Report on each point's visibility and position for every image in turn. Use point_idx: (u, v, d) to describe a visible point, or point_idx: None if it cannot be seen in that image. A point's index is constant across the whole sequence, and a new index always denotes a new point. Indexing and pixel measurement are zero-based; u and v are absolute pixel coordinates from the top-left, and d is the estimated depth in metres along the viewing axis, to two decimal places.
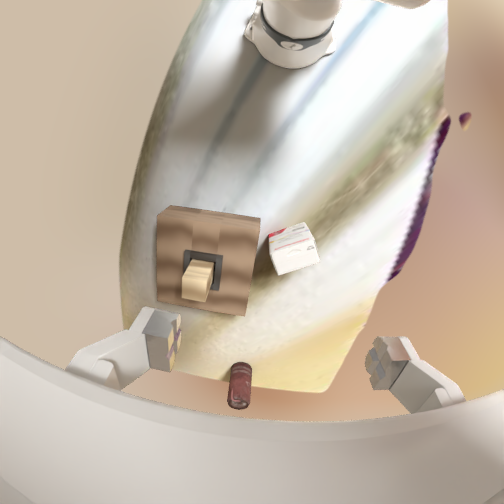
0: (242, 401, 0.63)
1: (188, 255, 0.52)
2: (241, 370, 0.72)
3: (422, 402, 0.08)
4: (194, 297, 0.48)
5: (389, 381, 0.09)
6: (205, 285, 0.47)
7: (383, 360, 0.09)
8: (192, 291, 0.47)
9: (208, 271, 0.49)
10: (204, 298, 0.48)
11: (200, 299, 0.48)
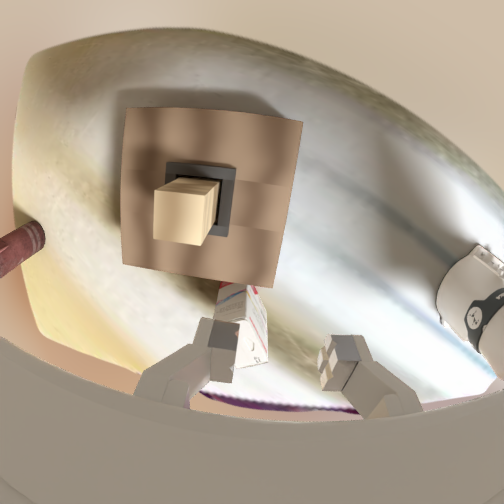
0: None
1: (227, 176, 0.28)
2: (34, 242, 0.38)
3: (375, 408, 0.07)
4: (160, 218, 0.22)
5: (339, 382, 0.09)
6: (191, 242, 0.23)
7: (331, 359, 0.09)
8: (173, 214, 0.22)
9: (208, 228, 0.26)
10: (161, 238, 0.23)
11: (157, 230, 0.23)
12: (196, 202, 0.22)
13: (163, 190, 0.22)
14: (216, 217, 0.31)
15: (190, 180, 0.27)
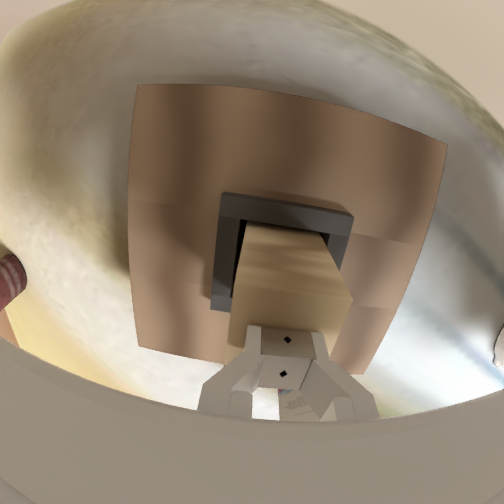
0: None
1: (339, 230, 0.15)
2: (12, 286, 0.25)
3: None
4: (244, 338, 0.10)
5: (295, 381, 0.09)
6: None
7: None
8: None
9: None
10: None
11: (235, 355, 0.11)
12: (332, 311, 0.10)
13: (254, 283, 0.10)
14: None
15: (273, 231, 0.15)
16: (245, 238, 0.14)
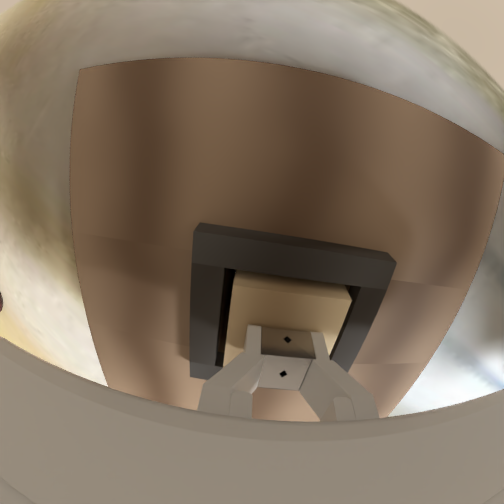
0: None
1: (374, 281, 0.10)
2: None
3: None
4: (243, 339, 0.10)
5: (295, 381, 0.09)
6: None
7: None
8: None
9: None
10: None
11: (234, 356, 0.11)
12: (330, 312, 0.10)
13: (253, 284, 0.10)
14: None
15: None
16: None
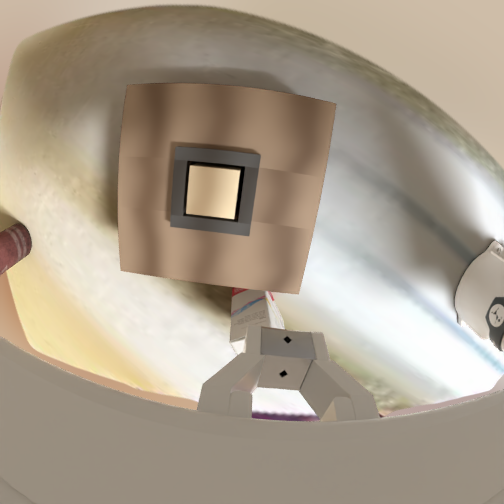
0: None
1: (251, 163, 0.23)
2: (19, 247, 0.31)
3: None
4: (194, 193, 0.23)
5: (295, 381, 0.09)
6: (224, 216, 0.24)
7: None
8: (208, 188, 0.23)
9: (236, 206, 0.27)
10: (194, 212, 0.24)
11: (191, 204, 0.24)
12: (231, 177, 0.23)
13: (198, 166, 0.23)
14: None
15: None
16: None
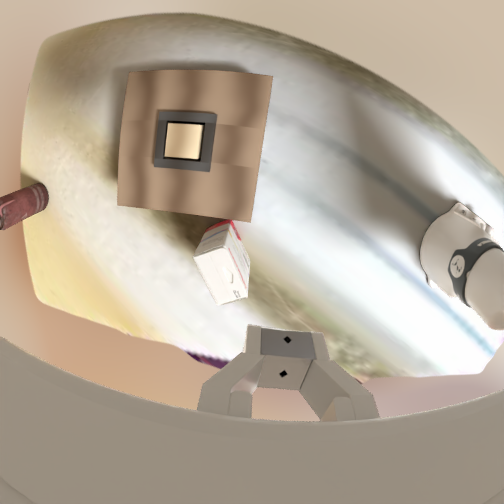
0: (1, 220, 0.32)
1: (209, 120, 0.31)
2: (38, 200, 0.41)
3: None
4: (170, 142, 0.31)
5: (295, 381, 0.09)
6: (190, 157, 0.32)
7: None
8: (179, 138, 0.31)
9: None
10: (170, 155, 0.32)
11: (168, 149, 0.32)
12: (195, 129, 0.31)
13: None
14: None
15: None
16: None
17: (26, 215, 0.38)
